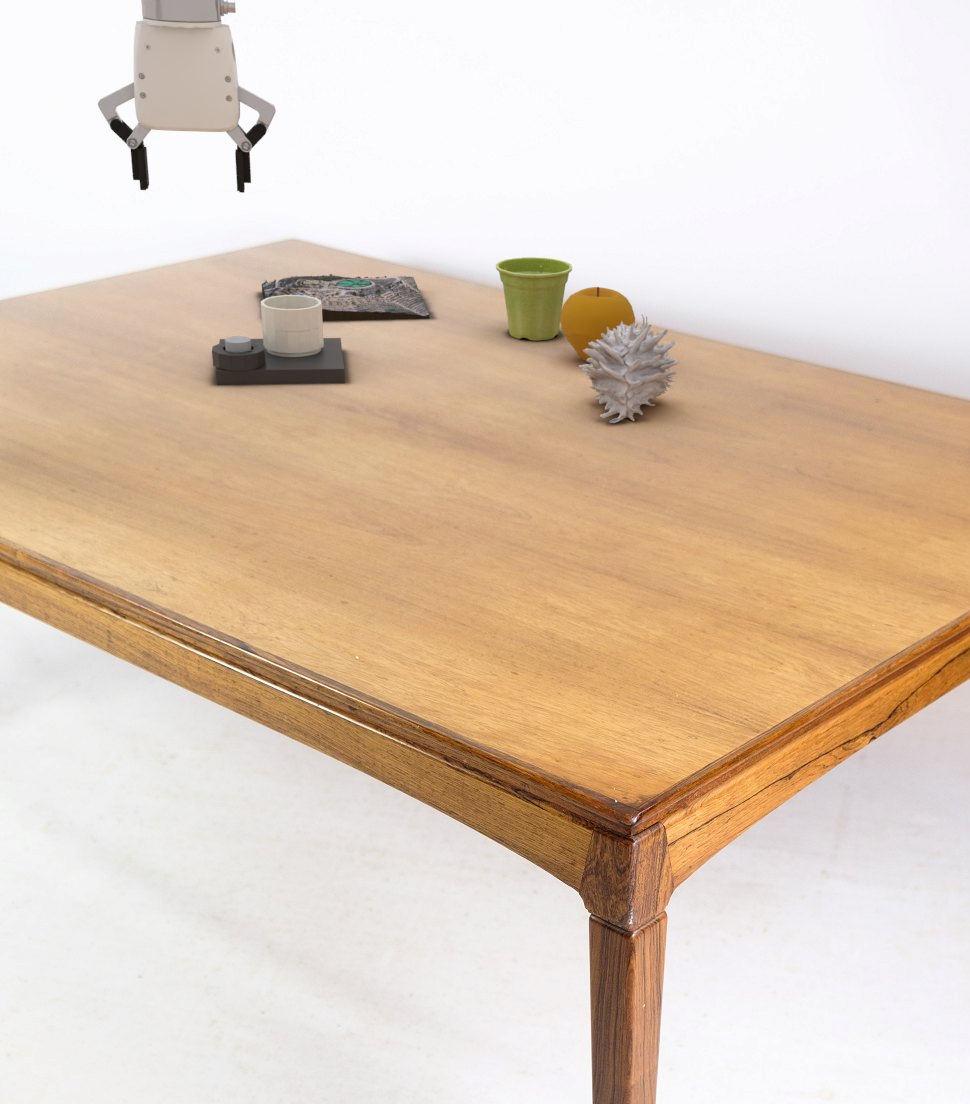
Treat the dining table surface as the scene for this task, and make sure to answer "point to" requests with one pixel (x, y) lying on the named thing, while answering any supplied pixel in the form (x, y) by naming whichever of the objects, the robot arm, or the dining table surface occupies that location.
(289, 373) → the scale
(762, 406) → the dining table surface
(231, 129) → the robot arm
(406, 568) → the dining table surface
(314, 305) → the white cup
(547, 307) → the plant pot
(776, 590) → the dining table surface
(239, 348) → the button
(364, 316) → the terrain model
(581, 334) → the apple
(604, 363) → the spiky white shell
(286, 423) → the dining table surface
